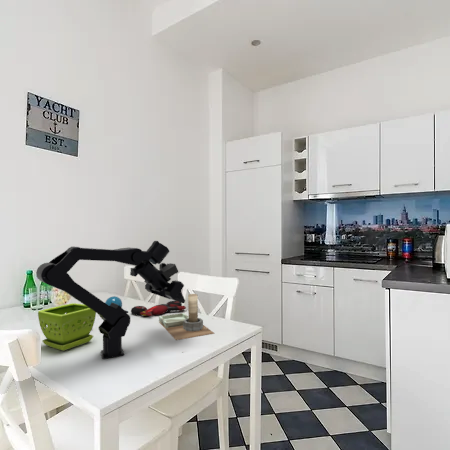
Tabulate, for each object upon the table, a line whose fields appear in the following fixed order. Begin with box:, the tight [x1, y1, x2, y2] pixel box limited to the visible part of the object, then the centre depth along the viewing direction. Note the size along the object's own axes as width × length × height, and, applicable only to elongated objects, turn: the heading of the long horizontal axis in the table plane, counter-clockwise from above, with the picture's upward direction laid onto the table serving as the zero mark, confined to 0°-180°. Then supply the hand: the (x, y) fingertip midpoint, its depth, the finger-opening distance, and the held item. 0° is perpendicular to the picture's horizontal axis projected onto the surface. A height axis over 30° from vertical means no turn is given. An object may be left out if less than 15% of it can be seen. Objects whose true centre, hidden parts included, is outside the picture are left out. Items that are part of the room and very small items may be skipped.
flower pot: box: [37, 302, 97, 351], centre depth 109 cm, size 14×14×13 cm
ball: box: [104, 295, 123, 308], centre depth 148 cm, size 8×8×8 cm
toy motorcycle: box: [130, 300, 187, 317], centre depth 148 cm, size 25×5×16 cm
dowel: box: [187, 293, 199, 323], centre depth 122 cm, size 4×4×13 cm
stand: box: [158, 312, 215, 341], centre depth 124 cm, size 26×15×4 cm, turn 26°
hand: (177, 300), depth 118 cm, fingers open, 9 cm apart
